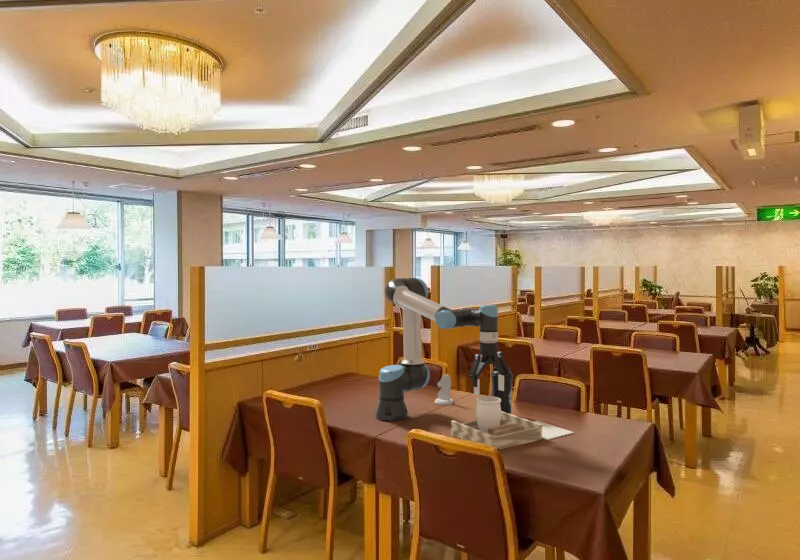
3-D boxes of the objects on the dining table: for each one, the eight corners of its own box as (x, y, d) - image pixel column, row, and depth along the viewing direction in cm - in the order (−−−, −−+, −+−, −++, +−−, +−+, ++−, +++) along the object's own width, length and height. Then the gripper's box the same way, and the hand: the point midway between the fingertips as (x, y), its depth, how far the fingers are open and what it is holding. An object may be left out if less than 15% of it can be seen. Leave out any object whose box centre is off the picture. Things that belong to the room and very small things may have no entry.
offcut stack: (483, 443, 209) (483, 429, 209) (515, 435, 219) (516, 421, 219) (494, 448, 204) (494, 433, 204) (526, 439, 214) (526, 425, 214)
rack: (450, 435, 219) (451, 420, 219) (500, 424, 234) (500, 410, 234) (490, 452, 199) (490, 436, 199) (541, 439, 214) (541, 424, 214)
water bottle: (512, 419, 242) (513, 369, 241) (490, 417, 244) (490, 368, 243) (512, 413, 252) (512, 365, 251) (491, 412, 254) (491, 364, 253)
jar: (473, 430, 225) (473, 395, 225) (497, 429, 226) (497, 395, 226) (479, 438, 215) (479, 402, 214) (504, 438, 215) (504, 401, 215)
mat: (512, 427, 230) (512, 426, 230) (537, 421, 238) (537, 420, 238) (547, 440, 213) (547, 438, 213) (573, 433, 221) (573, 432, 221)
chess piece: (441, 399, 278) (442, 371, 278) (457, 402, 272) (457, 373, 271) (430, 403, 270) (430, 374, 270) (446, 406, 264) (446, 376, 264)
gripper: (471, 345, 209) (472, 398, 210) (517, 340, 223) (517, 390, 223) (459, 343, 216) (460, 394, 216) (504, 338, 229) (504, 387, 229)
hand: (489, 392), depth 220 cm, fingers open, 13 cm apart
